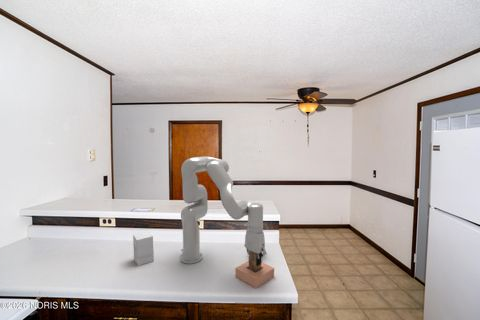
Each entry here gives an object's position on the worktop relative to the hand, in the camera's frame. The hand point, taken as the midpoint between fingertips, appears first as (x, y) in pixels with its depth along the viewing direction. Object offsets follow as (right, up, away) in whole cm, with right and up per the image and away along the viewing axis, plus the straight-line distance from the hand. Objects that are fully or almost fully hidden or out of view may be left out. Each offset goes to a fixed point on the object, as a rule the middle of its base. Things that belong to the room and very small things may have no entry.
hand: (255, 262), depth 123 cm
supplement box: (-63, -6, +16) cm, 65 cm away
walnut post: (0, -5, 0) cm, 5 cm away
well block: (0, -7, +1) cm, 7 cm away
